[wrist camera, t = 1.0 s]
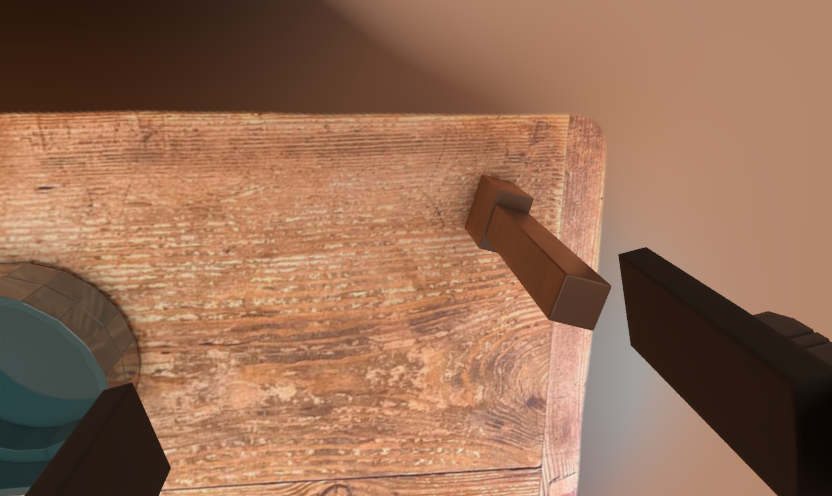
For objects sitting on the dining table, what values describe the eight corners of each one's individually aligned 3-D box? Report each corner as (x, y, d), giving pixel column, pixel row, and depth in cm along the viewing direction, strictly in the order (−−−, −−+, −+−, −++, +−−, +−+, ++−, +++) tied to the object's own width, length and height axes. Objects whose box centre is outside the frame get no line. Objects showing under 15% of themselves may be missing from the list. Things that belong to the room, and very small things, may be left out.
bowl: (-65, 237, 40) (-135, 267, 34) (157, 287, 42) (127, 323, 36) (-80, 420, 43) (-146, 475, 38) (125, 456, 46) (92, 512, 40)
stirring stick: (482, 174, 42) (571, 253, 25) (513, 183, 42) (622, 267, 25) (464, 227, 43) (538, 338, 26) (495, 235, 43) (588, 350, 26)
